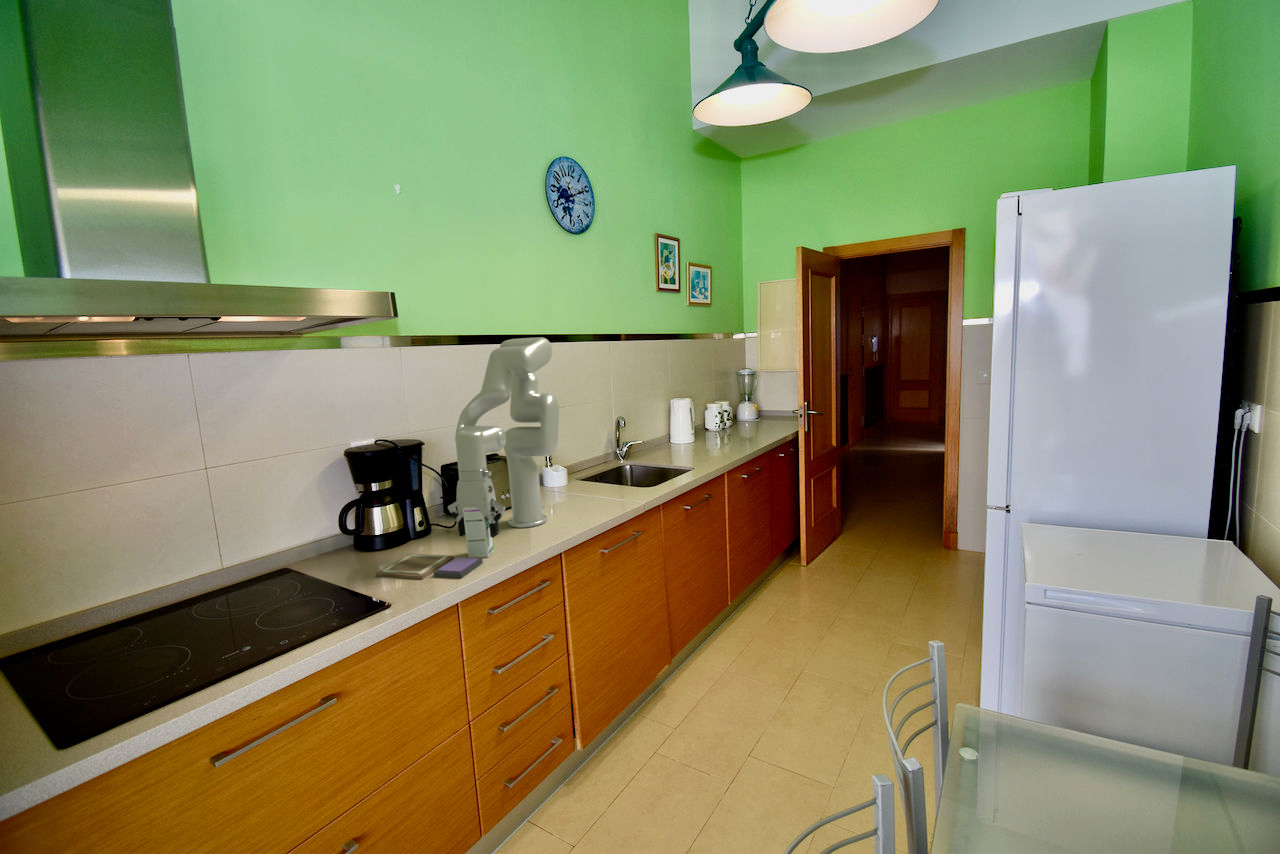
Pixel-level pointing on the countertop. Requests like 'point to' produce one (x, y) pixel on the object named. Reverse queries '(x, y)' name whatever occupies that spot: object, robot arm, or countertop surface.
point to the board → (415, 566)
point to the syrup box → (477, 533)
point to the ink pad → (458, 567)
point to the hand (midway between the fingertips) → (479, 535)
